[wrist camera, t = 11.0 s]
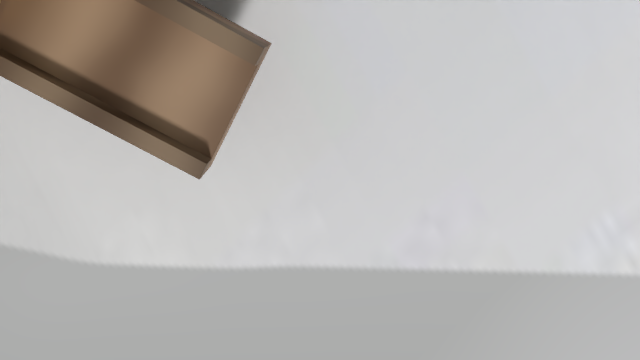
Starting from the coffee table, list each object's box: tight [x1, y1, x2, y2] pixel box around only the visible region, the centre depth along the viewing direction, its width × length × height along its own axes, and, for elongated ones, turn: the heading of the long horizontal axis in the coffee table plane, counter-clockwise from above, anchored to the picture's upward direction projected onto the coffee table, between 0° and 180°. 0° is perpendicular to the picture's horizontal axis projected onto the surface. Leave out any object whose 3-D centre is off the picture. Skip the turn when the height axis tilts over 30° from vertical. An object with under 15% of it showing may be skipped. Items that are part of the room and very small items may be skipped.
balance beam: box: [0, 0, 271, 179], centre depth 31 cm, size 24×10×12 cm, turn 62°
